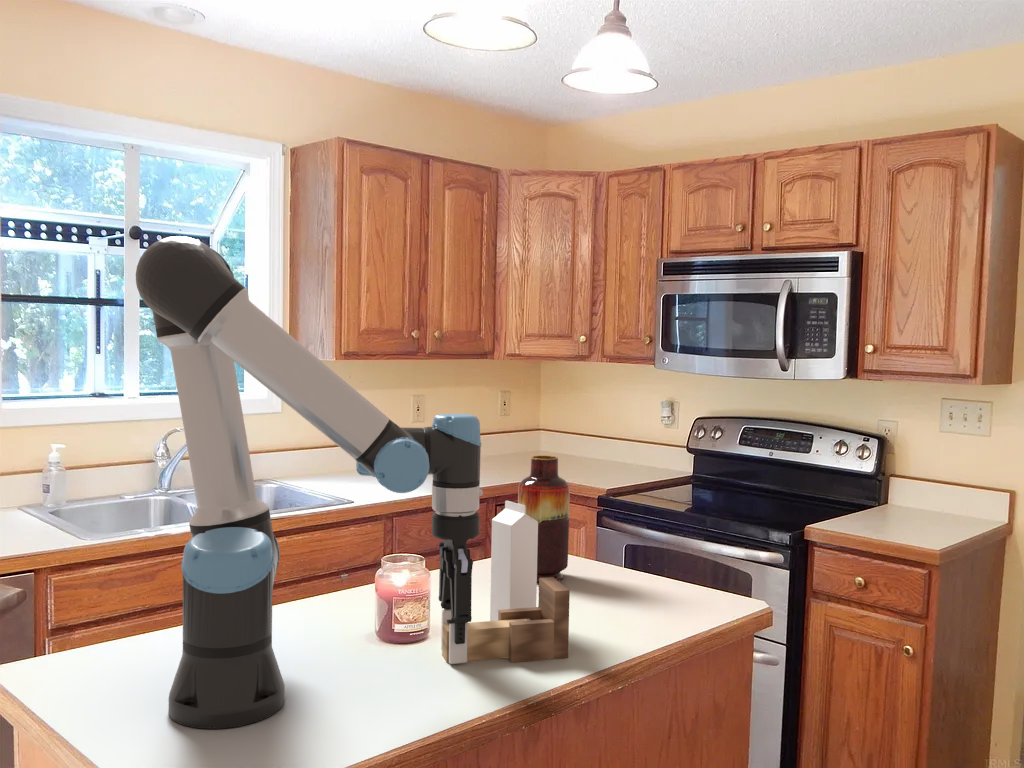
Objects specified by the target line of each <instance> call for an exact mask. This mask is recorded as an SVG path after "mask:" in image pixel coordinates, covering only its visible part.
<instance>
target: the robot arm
mask: <svg viewBox="0 0 1024 768" xmlns="http://www.w3.org/2000/svg"><path fill="white" fill-rule="evenodd" d="M135 284H136V289H137V291H138V294H139V296H140V298H141V299H142V301H143V303H144V304H145V305H146V306H147V307H148V308H149V309H150V310H151V312H152V315H153V316H152V317H153V323H154V328H155V333H156V340H157V341H158V342H160V343H161V344H162V345H164V346H166V347H167V348H168V349H169V351H170V354H171V355H170V356H171V361H172V366H173V367H172V368H173V373H174V379H175V384H176V390H177V396H178V401H179V407H180V413H181V418H182V419H181V420H182V425H183V426H182V427H183V430H184V436H185V437H184V438H185V442H186V448H187V455H188V460H189V465H190V471H191V472H190V473H191V477H192V484H193V489H194V490H193V491H194V495H195V501H196V508H197V509H196V511H195V512H194V513H193V515H192V516H191V518H190V519H189V521H188V523H189V529H190V535H191V537H190V539H189V540H188V541H187V542H186V544H185V545H184V548H183V552H182V553H183V554H182V555H183V557H182V559H181V564H180V567H181V572H182V655H181V657H180V661H179V664H178V667H177V670H176V673H175V674H174V675H175V676H174V678H173V679H174V680H173V683H172V684H171V688H170V691H169V693H168V715H169V717H170V719H172V720H173V721H175V722H176V723H178V724H179V725H183V726H186V727H190V728H197V729H210V730H211V729H227V728H228V729H229V728H235V727H241V726H245V725H248V724H249V725H250V724H252V723H255V722H260V721H261V720H265V719H266V718H268V717H270V716H272V715H274V714H276V713H277V712H278V711H279V710H280V709H281V708H283V706H284V704H285V699H286V698H285V695H286V694H285V693H286V692H285V683H284V682H285V681H284V678H283V675H282V673H281V669H280V667H279V665H278V661H277V659H276V655H275V652H274V649H273V589H274V582H275V578H276V574H277V570H278V568H279V564H280V563H279V561H280V555H281V553H280V552H281V551H280V546H279V542H278V540H277V538H276V535H275V534H274V531H273V530H274V529H273V525H272V519H271V513H270V506H269V504H267V503H266V502H264V501H263V500H261V499H260V498H258V496H257V490H256V486H255V485H256V484H255V479H254V474H253V473H254V472H253V468H252V467H253V466H252V462H251V461H252V460H251V456H250V449H249V443H248V437H247V432H246V431H247V429H246V425H245V420H244V414H243V408H242V407H243V406H242V401H241V395H240V389H239V383H238V377H237V372H236V366H235V363H236V364H237V365H238V366H239V367H241V369H243V370H244V371H245V372H247V373H248V374H249V375H251V376H252V377H253V378H254V379H255V380H257V381H258V382H259V383H260V384H261V385H263V386H264V387H265V388H267V389H268V390H269V391H270V392H271V393H273V394H274V395H275V397H278V399H279V400H281V401H283V403H285V404H286V405H287V406H288V407H290V408H291V410H294V412H296V413H297V414H298V415H300V416H301V417H302V418H303V419H304V420H306V421H307V422H308V423H309V424H311V425H312V426H313V427H314V428H315V429H317V430H318V431H319V432H320V433H322V434H323V435H324V436H325V437H326V438H327V439H329V440H330V441H332V442H333V443H334V444H335V445H337V446H338V447H339V448H340V449H342V451H343V452H345V453H346V454H348V456H350V457H351V458H353V459H354V460H355V468H356V471H357V472H356V473H358V475H360V476H366V477H367V476H368V477H373V478H375V479H377V482H378V483H379V484H380V485H381V486H382V487H384V488H385V489H387V490H388V491H390V492H393V493H396V494H405V493H406V494H407V493H412V492H413V491H416V490H417V489H419V488H420V487H421V486H422V485H423V484H424V483H425V481H426V479H427V477H428V475H429V476H430V475H431V476H432V483H431V484H432V485H431V508H432V510H433V511H434V512H433V513H432V514H431V535H432V536H433V537H434V538H436V539H439V540H443V541H439V544H438V547H439V578H438V579H439V582H438V583H439V586H438V587H439V588H438V601H439V602H440V606H441V609H442V610H441V637H440V639H441V641H440V642H441V644H440V645H441V646H440V649H441V651H442V627H443V624H450V625H449V663H448V664H450V665H451V664H452V665H455V664H456V665H457V664H464V663H468V661H467V623H471V622H472V619H473V618H472V617H473V616H472V579H473V578H472V576H473V567H474V566H473V565H474V561H473V559H472V558H471V550H470V549H469V548H468V544H467V541H469V540H471V539H472V540H473V539H475V538H477V537H478V536H479V534H480V514H479V513H478V512H477V511H479V509H480V497H481V496H483V493H484V491H483V489H480V481H481V480H480V478H481V452H482V451H481V447H482V442H481V441H482V440H481V423H480V420H479V418H478V417H477V416H475V415H473V414H468V413H440V414H436V415H435V416H434V417H433V421H432V423H431V426H426V427H424V426H423V427H404V426H403V427H402V426H401V427H400V425H398V424H396V423H395V422H394V421H392V419H390V418H389V417H388V416H387V415H386V414H385V413H384V412H382V411H381V410H380V409H379V408H377V406H375V405H374V404H373V403H371V402H370V401H369V400H368V399H367V398H366V397H364V396H363V395H362V394H361V393H359V392H358V391H357V390H356V389H355V388H353V386H352V385H350V384H349V383H348V382H347V381H346V380H345V379H343V378H342V377H341V376H339V375H338V374H337V373H336V372H335V371H333V370H332V369H331V368H330V367H329V366H327V365H326V364H325V363H324V362H322V360H320V359H319V358H318V357H317V356H316V355H314V354H313V353H312V352H311V351H310V350H309V349H307V348H306V347H305V346H304V345H303V344H301V343H300V342H299V341H298V340H296V339H295V337H293V336H292V335H291V334H289V333H288V332H287V331H286V330H285V329H284V328H282V327H281V326H280V325H279V324H278V323H277V322H276V321H274V320H273V319H272V318H270V316H268V315H267V314H266V313H265V312H264V311H262V310H261V309H260V308H259V307H258V306H256V305H255V304H254V303H252V301H250V298H249V290H248V288H246V287H245V286H244V285H243V284H241V283H240V282H239V281H238V280H237V279H236V278H235V275H234V273H233V270H232V269H231V266H230V265H229V263H228V262H227V260H226V259H225V258H224V257H223V256H222V255H221V254H220V253H218V252H217V251H216V250H214V249H213V248H211V247H209V246H208V245H207V244H206V243H204V242H202V241H200V240H198V239H196V238H194V237H193V238H192V237H189V236H185V235H183V236H181V235H178V236H177V235H176V236H168V237H165V238H161V239H159V240H158V241H155V242H153V243H152V244H151V245H150V246H149V247H147V248H146V250H144V252H143V253H142V255H141V256H140V257H139V260H138V262H137V265H136V271H135Z"/></svg>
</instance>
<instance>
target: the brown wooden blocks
mask: <svg viewBox="0 0 1024 768" xmlns="http://www.w3.org/2000/svg"><path fill="white" fill-rule="evenodd" d="M570 593H571V591H570V589H569V588H567V587H566V586H565V584H562V583H561V581H557V580H556V579H555V578H554V577H544V578H539V583H538V605H537V606H536V607H532V608H517V609H503V610H498V621H500V620H514V619H528V618H529V619H530V620H531V621H517V622H509V658H508V660H509V662H510V663H523V662H525V663H526V662H533V661H545V660H546V661H547V660H556V659H557V660H559V659H569V639H570V637H569V632H570V630H569V629H570V628H569V627H570V598H571V597H570Z"/></svg>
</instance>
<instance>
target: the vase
mask: <svg viewBox="0 0 1024 768" xmlns="http://www.w3.org/2000/svg"><path fill="white" fill-rule="evenodd" d="M517 489H518V490H517V503H518V504H522V505H525V507H526V515H528V516H530V517H531V518H533V519H534V520H536V521H538V547H537V582H539V578H544V577H554V578H555V579H556V580H557V581H559V580H561V579H562V578H564V575H563V574H562V572H563V571H564V570H566V569H567V568H568V564H569V561H568V560H569V539H570V538H569V537H570V535H569V533H570V532H569V531H570V500H571V499H570V493H571V492H570V484H569V483H568V482H567V480H566V479H564V478H562V477H560V476H559V457H558V456H554V455H533V456H531V459H530V474H529V475H528V476H526V477H525V478H522V480H521V481H520V482H519V484H518V488H517ZM562 580H563V579H562ZM562 580H561V581H562ZM559 582H560V581H559Z"/></svg>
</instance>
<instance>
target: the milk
mask: <svg viewBox="0 0 1024 768" xmlns="http://www.w3.org/2000/svg"><path fill="white" fill-rule="evenodd" d="M537 547H538V521H536V520H534V519H533V518H531V517H530V516H528V515H526V507H525V505H522V504H518V502H513V501H510V500H505V501H504V508H503V510H501V511H500V512H499V513H497V514H496V516H495V517H493V518H492V519H491V548H490V549H491V550H490V551H491V554H490V594H489V595H490V597H489V599H490V600H489V601H490V602H489V605H490V606H489V607H490V608H489V609H490V610H489V611H490V612H489V621H498V610H503V609H517V608H532V607H537V585H538V583H537Z"/></svg>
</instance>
